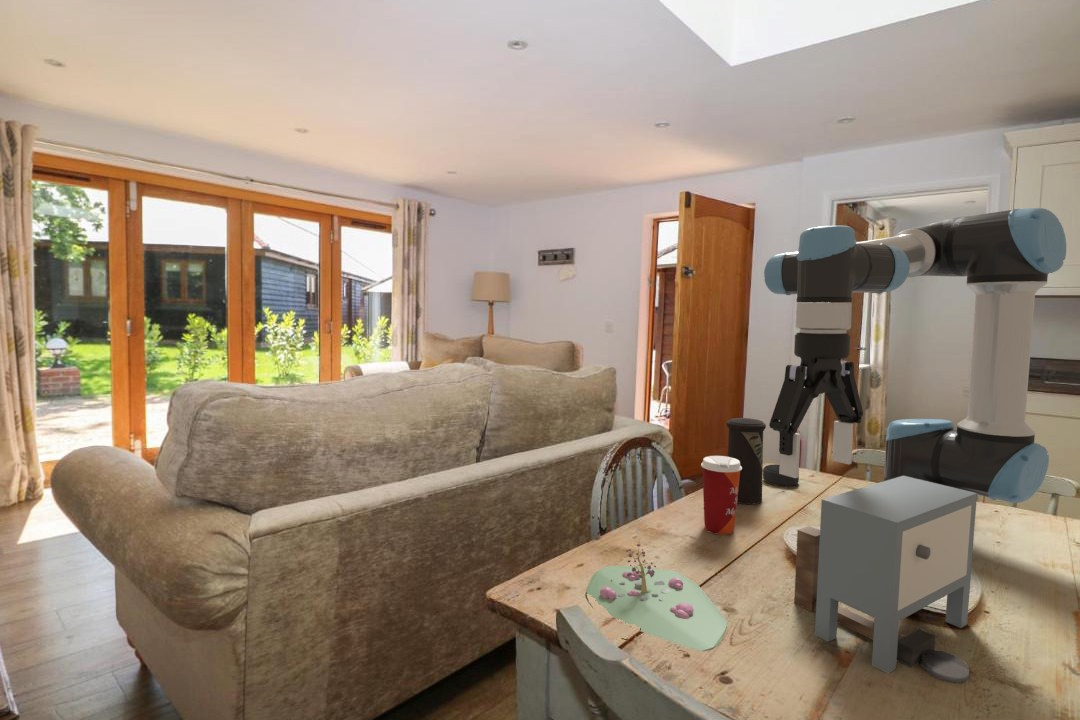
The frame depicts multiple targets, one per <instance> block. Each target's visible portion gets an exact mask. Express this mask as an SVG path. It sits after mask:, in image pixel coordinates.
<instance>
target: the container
mask: <svg viewBox="0 0 1080 720" xmlns="http://www.w3.org/2000/svg"><path fill="white" fill-rule="evenodd" d="M725 425H726V427H727V428H728V446H727V457H731V458H735V459H737V460H739V461H740V466H741V467H742V470H740V478H739V488H738V499H737V504H744V505H756V504H760V503H762V502H763V469H764V466H763V462H764V461H763V459H764V452H763V451H764V431H765V429H766V427H767V425H766V423H765V422H764V421H763V420H760V419H756V418H748V417H734V418H730V419H729V420H727V421H726V424H725Z"/></svg>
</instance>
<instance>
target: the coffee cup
mask: <svg viewBox="0 0 1080 720" xmlns="http://www.w3.org/2000/svg"><path fill="white" fill-rule="evenodd" d="M702 459H703V460H702V462H701V464H700V467H702V491H703V492H702V493H703V519H704V529H705V530H706V531H707V532H709V533H712V534H714V535H719V536H720V535H731V534H733V533H734V531H735V527H736V526H735V524H736V518H737V516H736V515H737V509H738V507H737V506H738V503H737V499H738V488H739V478H740V470H742V467H741V466H740V461H739V460H737V459H735V458H731V457H728V456H726V455H709V456H705V457H703V458H702Z"/></svg>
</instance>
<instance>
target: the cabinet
mask: <svg viewBox="0 0 1080 720" xmlns="http://www.w3.org/2000/svg"><path fill="white" fill-rule="evenodd" d="M977 498H978V494H977V493H974V492H970V491H966V490H962V489H957V488H953V487H949V486H945V485H941V484H936V483H932V482H928V481H924V480H920V479H915V478H911V477H907V476H900V477H897V478H894V479H890V480H887V481H884V480H883V481H880V482H877V483H873V484H869V485H865V486H863V487H859V488H856V489H853V490H850V491H846V492H842V493H839V494H836V495H835V494H834V495H832V496H829V497H825V498H821V503H820V504H821V505H820V506H821V508H820V525H819V526H820V527H819V528H820V529H819V530H820V543H819V563H818V583H817V603H816V611H815V624H814V625H815V627H814V636H815V637H817V638H820V639H822V640H823V641H825V642H827V643H829V642H831V641H833V640H835V639H837V634H838V622H837V620H838V606H839V603H841V604H843V605H845V606H848V607H850V608H852V609H853V610H855V611H858V612H861V613H863V614H865V615H867V616H869V617H871V618H873V619H874V621H873V622H874V638H873V639H872V641H873V642H872V657H871V658H872V659H871V666H872V667H874V668H877V669H878V670H880V671H882V672H884V673H886V674H889V673H891V672H893V671H895V670H896V669H897V661H898V660H897V645H898V634H899V630H900V629H899V625H900V621H903V620H904V619H906V618H908V617H909V616H911V615H913V614H915V613H917V612H919V611H920V610H922V609H923V608H926V607H927V606H930V605H931V604H933V603H935V602H937V601H939V600H940V599H942V598H944V597H946V606H945V607H946V609H945V620H944V621H945V623H948V624H950V625H952V626H954V627H957V628H959V629H962V628H963V627H965V626H968V617H969V606H970V605H969V603H970V592H971V591H970V590H971V578H972V577H971V576H972V566H973V564H972V563H973V554H974V553H973V551H974V538H975V525H976V524H975V523H976V513H977V512H976V511H977Z"/></svg>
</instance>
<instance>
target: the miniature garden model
mask: <svg viewBox="0 0 1080 720" xmlns="http://www.w3.org/2000/svg"><path fill="white" fill-rule="evenodd" d="M636 547H637V548H638V549H637V553H635V555H636V556H637V557H635V556H634V554H633V552H632V549H631V548H629V549H626V550H625V552H627V553H629V554H628V557H629V558H633V559H634V560H633V561H631V560H630V559H628V560H627V563H628V564H629V563H631V562H632V563H633V565H632V564H629V565H609V566H605V567H603V568H601V569H599V570H597V571H596V572H595V573H594V574H593V575H592V576H591V578H590V581H589V583H588V585H587V588H586V591H587V594H589V595H592V596H591V597H593V598H595V599H596V600H595V601H597V602H598V604H599V605H602V606H603V607H604V608H606V610H607V611H608V613H609V614H610V615H611V616H613V617H615V618H617V619H618V620H619V619H620V620H623V621H624V622H625V624H626V623H628V624H635V625H636V626H637V627H641V631H640V632H641V633H644V634H646V635H651V636H653V637H656V638H658V639H662V640H664V641H667V642H670V643H673V644H676V645H678V646H682V647H685V648H688V649H691V650H695V651H698V652H705V651H710V650H713V649H715V648H716V647H718V646H719V644H720V643H721V641H722V640H723V638H724V636H725V634H726V631H727V628H728V620H727V619H726V618H725V616H724V615H723V614H722V613H721V612H720V610H719V609H718V607H717V606H716V605H715V604H714V603H713V602H712V599H710V597H709V596H708V595H707V594H706V593H705V591H704V590H703V589H702V588H701V587H700V585H699V584H697V583H696V582H694V581H693V580H691V578H688V577H686V576H685V575H684V574H682V573H680V572H678V571H676V570H671V569H661V568H657V566H656V565H655V564H654V563H653V562H646V559H643V560H642V562H641V559H640V556H641V555H642V557H643V558H644V557H646V555H645V554H646V552H645V551H644V549H641V553H640V547H641V544H640V543H637V544H636ZM653 564H654V565H653ZM646 565H647V566H646ZM652 566H653V567H654V568H653V567H652Z"/></svg>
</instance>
